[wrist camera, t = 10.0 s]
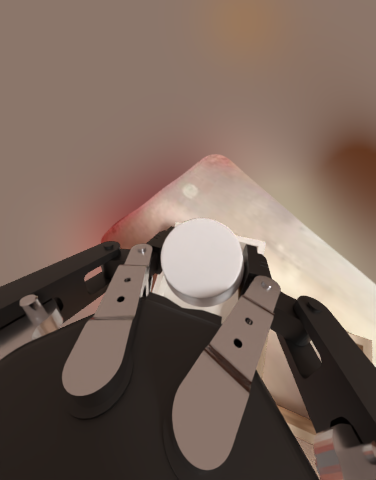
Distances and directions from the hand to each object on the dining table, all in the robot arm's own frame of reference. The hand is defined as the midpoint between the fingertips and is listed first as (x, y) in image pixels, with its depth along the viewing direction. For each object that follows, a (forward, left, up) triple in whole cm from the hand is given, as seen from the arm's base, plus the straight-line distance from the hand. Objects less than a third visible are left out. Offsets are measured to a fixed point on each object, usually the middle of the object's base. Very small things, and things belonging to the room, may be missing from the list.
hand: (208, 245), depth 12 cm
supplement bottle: (0, +2, -5) cm, 5 cm away
